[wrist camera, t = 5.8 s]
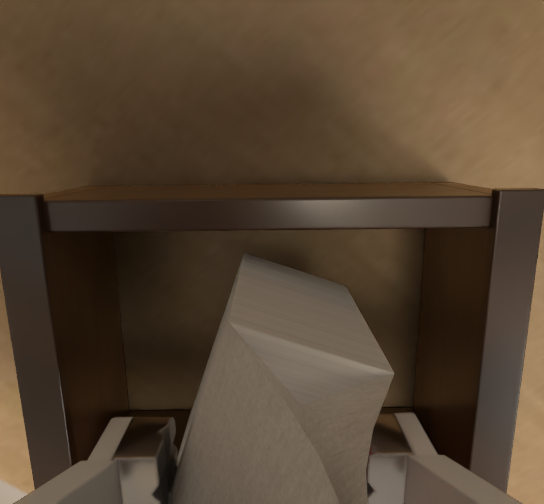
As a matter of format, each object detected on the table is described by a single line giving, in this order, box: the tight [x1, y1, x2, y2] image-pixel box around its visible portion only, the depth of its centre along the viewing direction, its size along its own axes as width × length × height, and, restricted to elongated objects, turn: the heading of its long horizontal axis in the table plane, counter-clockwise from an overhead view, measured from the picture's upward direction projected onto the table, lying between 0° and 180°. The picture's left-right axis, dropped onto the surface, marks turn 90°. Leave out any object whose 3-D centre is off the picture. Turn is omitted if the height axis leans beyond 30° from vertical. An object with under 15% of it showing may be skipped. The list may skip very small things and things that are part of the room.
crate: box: [0, 182, 544, 493], centre depth 17 cm, size 12×16×6 cm
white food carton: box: [168, 253, 395, 504], centre depth 11 cm, size 4×7×10 cm, turn 161°
